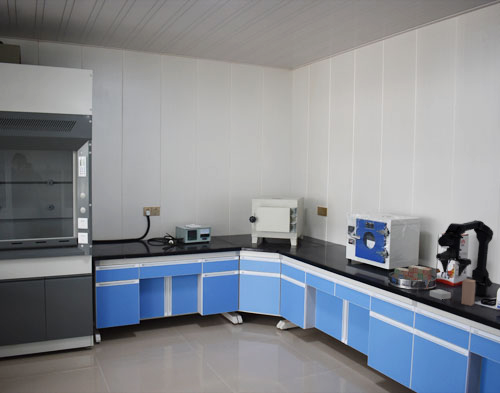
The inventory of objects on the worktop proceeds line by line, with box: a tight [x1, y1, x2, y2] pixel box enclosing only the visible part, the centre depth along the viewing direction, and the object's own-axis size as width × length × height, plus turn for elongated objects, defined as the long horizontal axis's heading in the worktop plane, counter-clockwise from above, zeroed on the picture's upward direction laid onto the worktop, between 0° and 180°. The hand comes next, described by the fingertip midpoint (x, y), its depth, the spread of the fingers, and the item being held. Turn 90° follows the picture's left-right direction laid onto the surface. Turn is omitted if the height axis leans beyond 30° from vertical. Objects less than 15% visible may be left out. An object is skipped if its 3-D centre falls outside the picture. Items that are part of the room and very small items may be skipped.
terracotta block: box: [461, 278, 476, 307], centre depth 246 cm, size 5×5×13 cm
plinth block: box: [429, 289, 452, 300], centre depth 258 cm, size 8×8×3 cm
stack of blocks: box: [393, 264, 433, 290], centre depth 282 cm, size 21×6×12 cm, turn 48°
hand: (451, 274), depth 250 cm, fingers open, 9 cm apart
